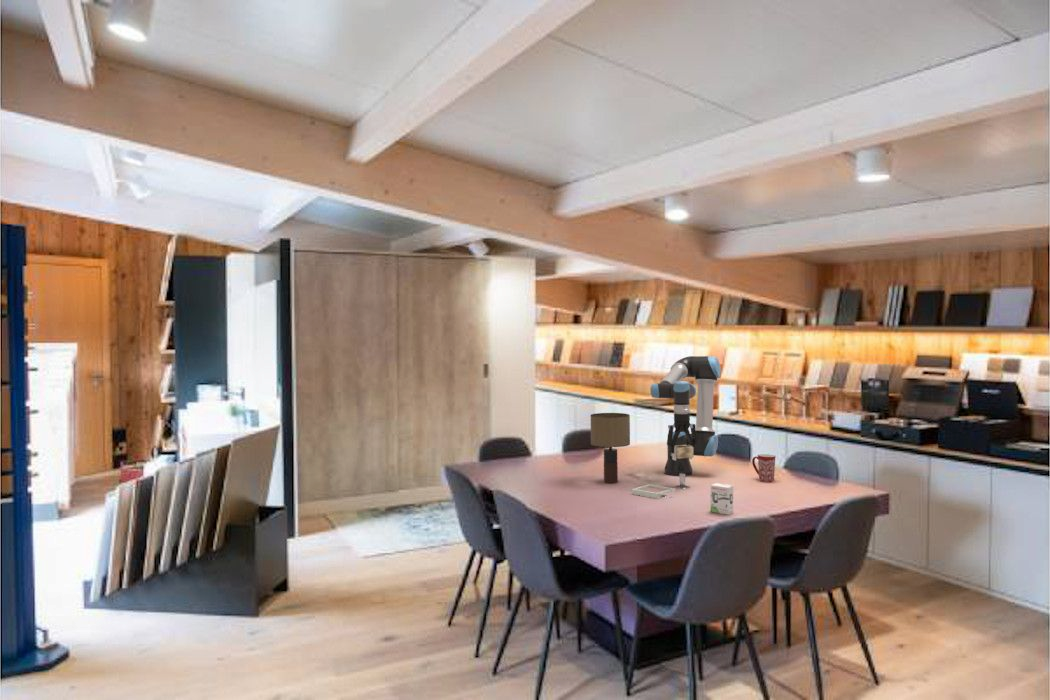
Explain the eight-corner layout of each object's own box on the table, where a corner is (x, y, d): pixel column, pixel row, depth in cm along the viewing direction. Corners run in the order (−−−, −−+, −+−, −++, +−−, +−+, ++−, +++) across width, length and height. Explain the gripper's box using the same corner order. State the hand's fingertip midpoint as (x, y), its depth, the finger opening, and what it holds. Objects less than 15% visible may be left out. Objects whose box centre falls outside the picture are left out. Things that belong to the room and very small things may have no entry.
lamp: (593, 477, 384) (592, 412, 383) (631, 478, 380) (630, 413, 379) (589, 485, 364) (588, 417, 363) (629, 486, 360) (628, 417, 359)
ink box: (710, 511, 308) (709, 484, 308) (715, 509, 312) (715, 482, 311) (728, 515, 302) (728, 487, 302) (733, 512, 306) (733, 485, 306)
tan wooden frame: (678, 458, 346) (678, 448, 346) (669, 455, 355) (669, 445, 355) (693, 457, 348) (693, 447, 348) (684, 454, 357) (684, 444, 357)
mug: (779, 481, 368) (779, 454, 368) (769, 483, 363) (768, 457, 363) (758, 477, 379) (758, 451, 378) (748, 479, 373) (747, 453, 373)
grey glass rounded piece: (672, 490, 351) (672, 473, 351) (680, 487, 356) (680, 471, 356) (684, 492, 346) (684, 475, 346) (692, 489, 351) (692, 473, 351)
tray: (631, 494, 344) (631, 489, 344) (649, 488, 354) (649, 484, 354) (657, 498, 333) (657, 493, 333) (675, 493, 344) (675, 488, 344)
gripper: (665, 414, 343) (666, 462, 344) (704, 412, 349) (705, 459, 350) (658, 413, 351) (659, 459, 351) (697, 411, 356) (697, 456, 357)
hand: (682, 459), depth 351 cm, fingers closed on tan wooden frame, 8 cm apart
